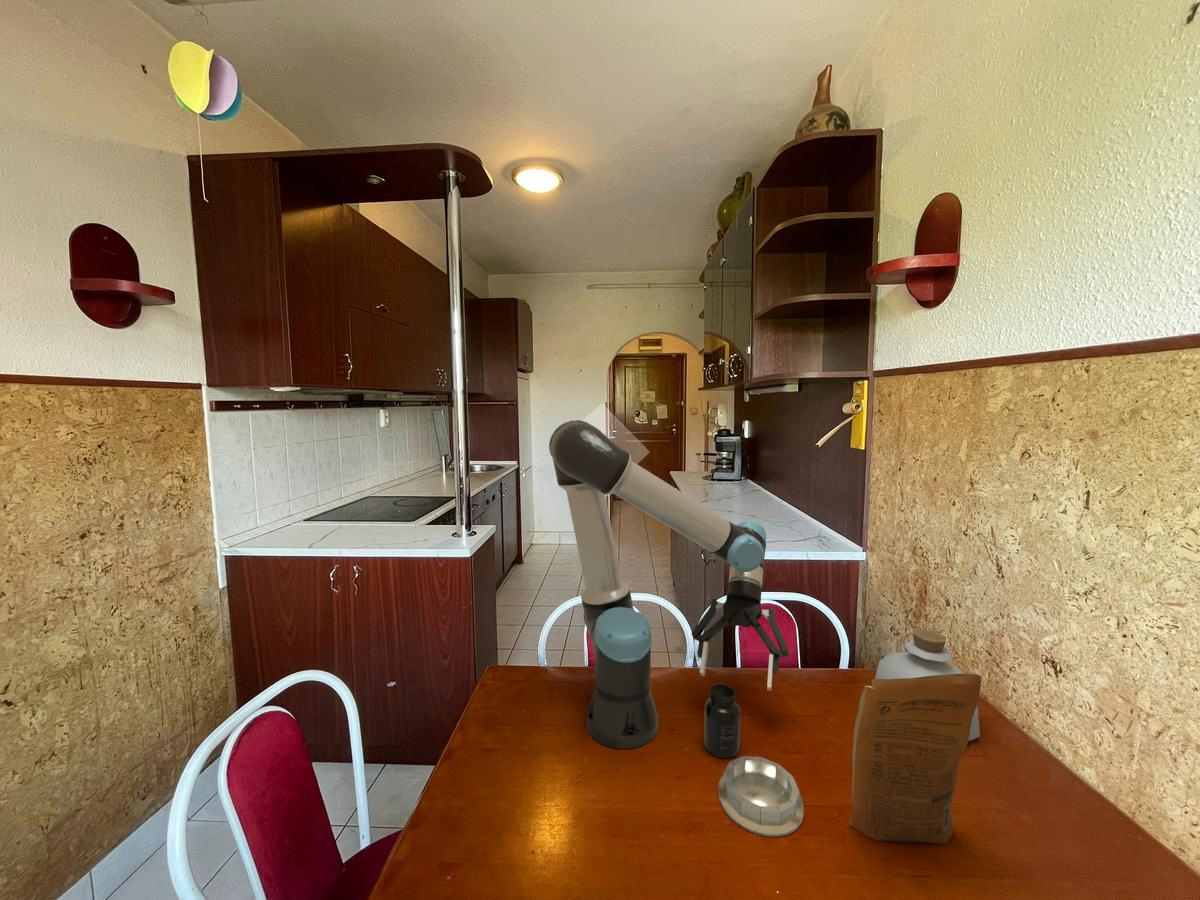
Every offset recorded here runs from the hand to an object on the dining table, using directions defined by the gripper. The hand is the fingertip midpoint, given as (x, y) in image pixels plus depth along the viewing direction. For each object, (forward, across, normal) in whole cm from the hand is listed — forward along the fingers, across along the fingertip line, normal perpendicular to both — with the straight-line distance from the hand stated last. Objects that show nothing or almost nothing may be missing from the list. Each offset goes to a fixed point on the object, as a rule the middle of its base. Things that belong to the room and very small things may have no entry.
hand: (734, 681), depth 102 cm
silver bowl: (+20, -7, +5) cm, 21 cm away
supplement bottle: (+12, +2, -3) cm, 13 cm away
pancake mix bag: (+18, -29, +3) cm, 34 cm away
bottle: (-6, -38, -22) cm, 44 cm away
